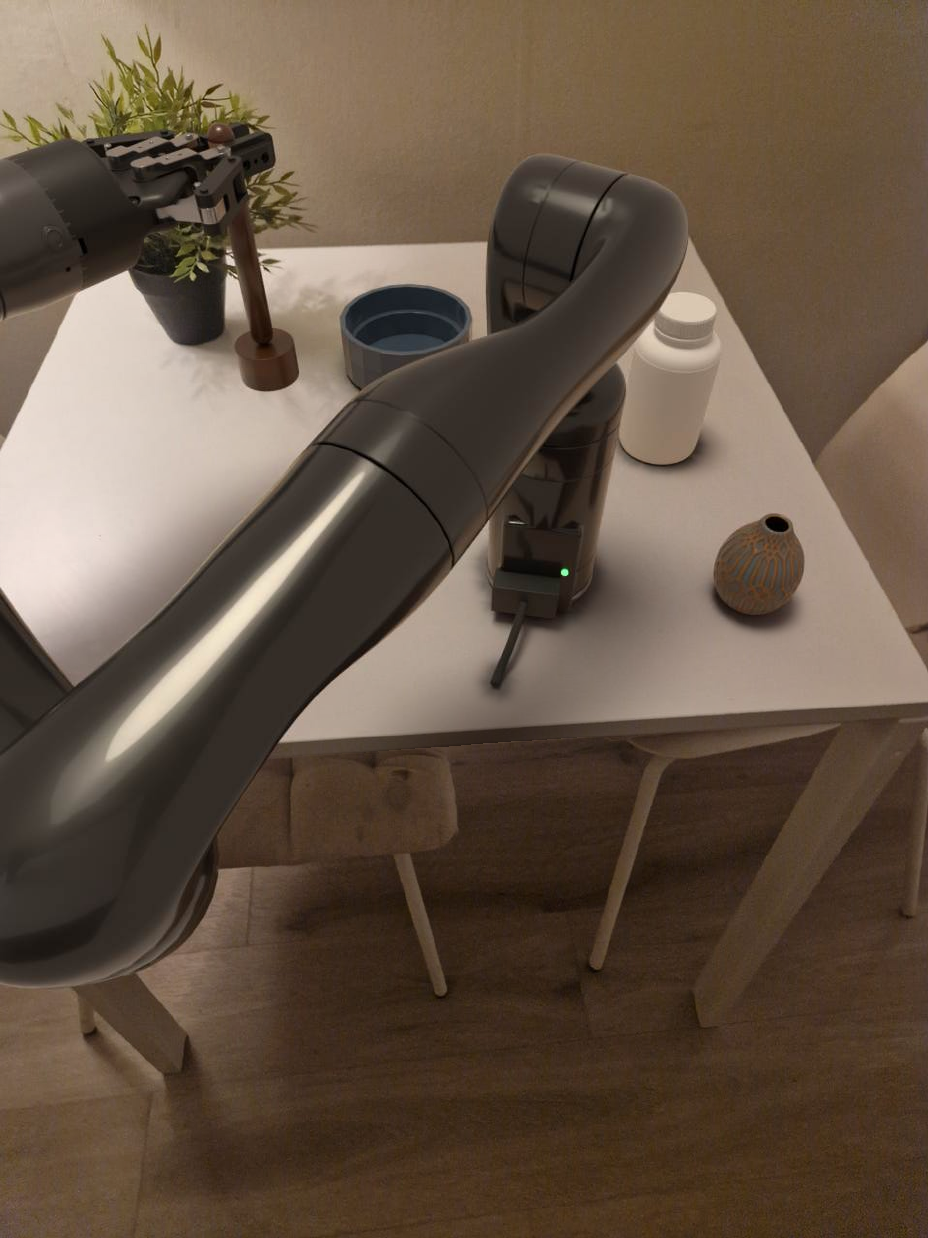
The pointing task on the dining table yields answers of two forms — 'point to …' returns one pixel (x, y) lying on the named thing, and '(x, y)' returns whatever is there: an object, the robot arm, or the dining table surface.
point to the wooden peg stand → (255, 304)
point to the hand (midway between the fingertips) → (258, 143)
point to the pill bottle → (671, 380)
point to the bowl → (400, 328)
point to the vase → (759, 566)
